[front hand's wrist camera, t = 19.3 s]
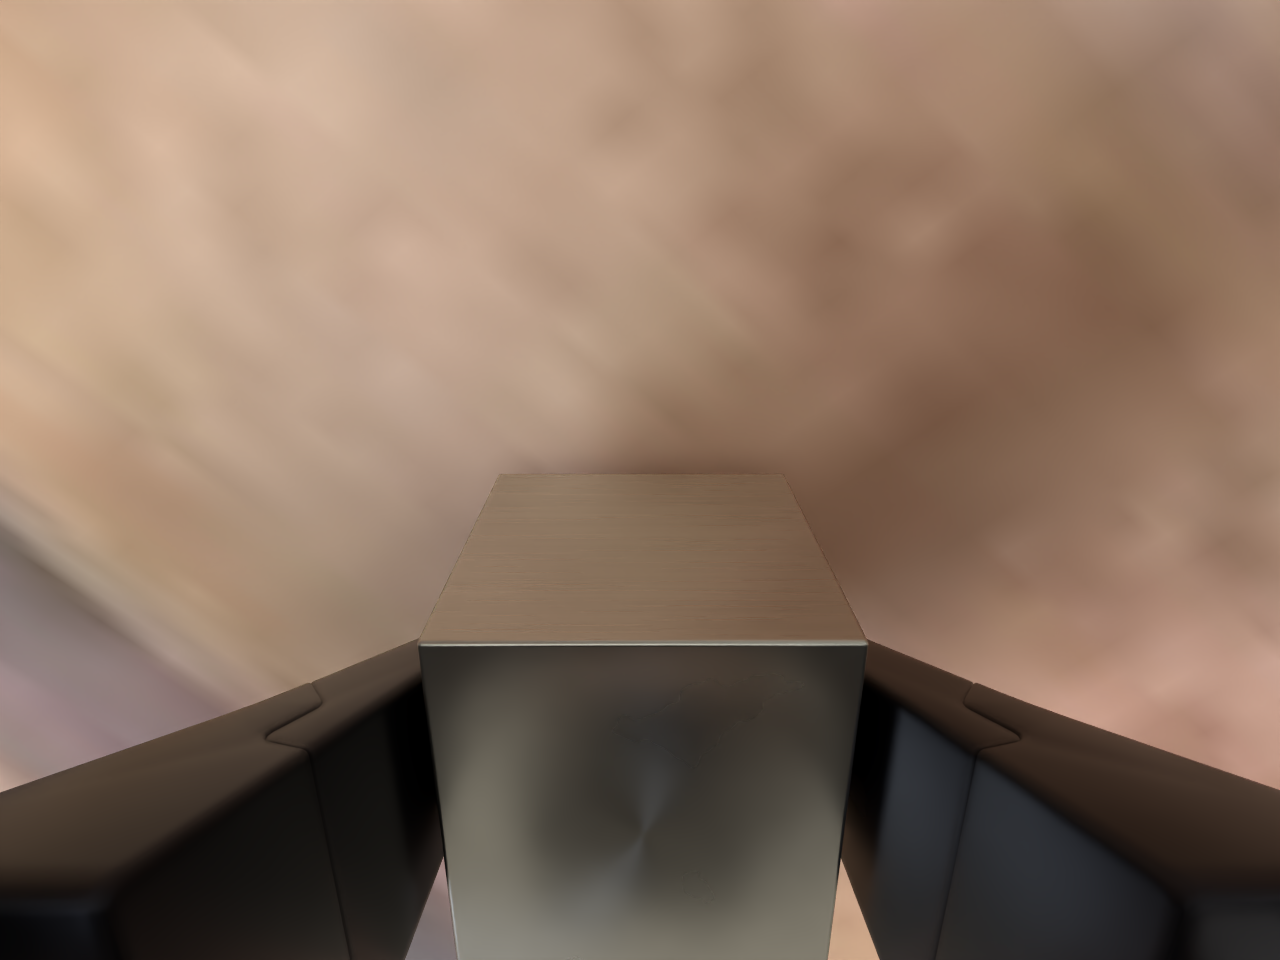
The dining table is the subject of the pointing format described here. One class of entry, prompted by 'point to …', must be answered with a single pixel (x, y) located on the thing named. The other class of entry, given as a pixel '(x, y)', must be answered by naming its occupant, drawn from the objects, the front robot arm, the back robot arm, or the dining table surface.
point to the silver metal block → (642, 721)
